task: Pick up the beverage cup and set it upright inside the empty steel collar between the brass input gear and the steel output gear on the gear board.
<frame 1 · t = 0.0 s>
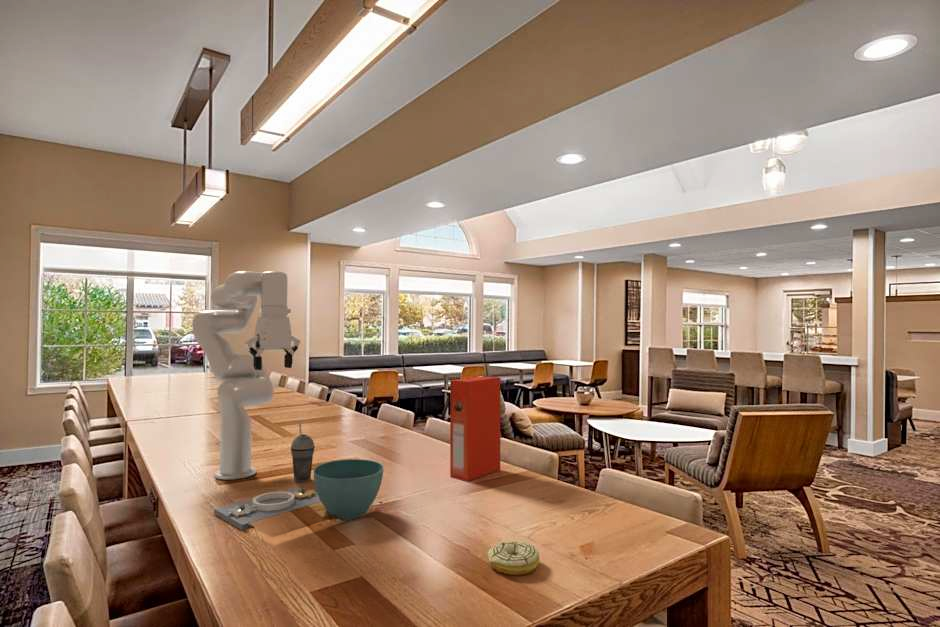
hand: (273, 368, 158), 37 cm above the table, tool pointing down, fingers open, 9 cm apart
beverage cup: (302, 485, 163), on the table
plant pot: (348, 514, 139), on the table
decorated donut: (513, 567, 111), on the table
file binder: (475, 474, 177), on the table
gear board: (273, 509, 142), on the table
input gear: (302, 495, 149), resting on gear board
output gear: (242, 512, 136), resting on gear board
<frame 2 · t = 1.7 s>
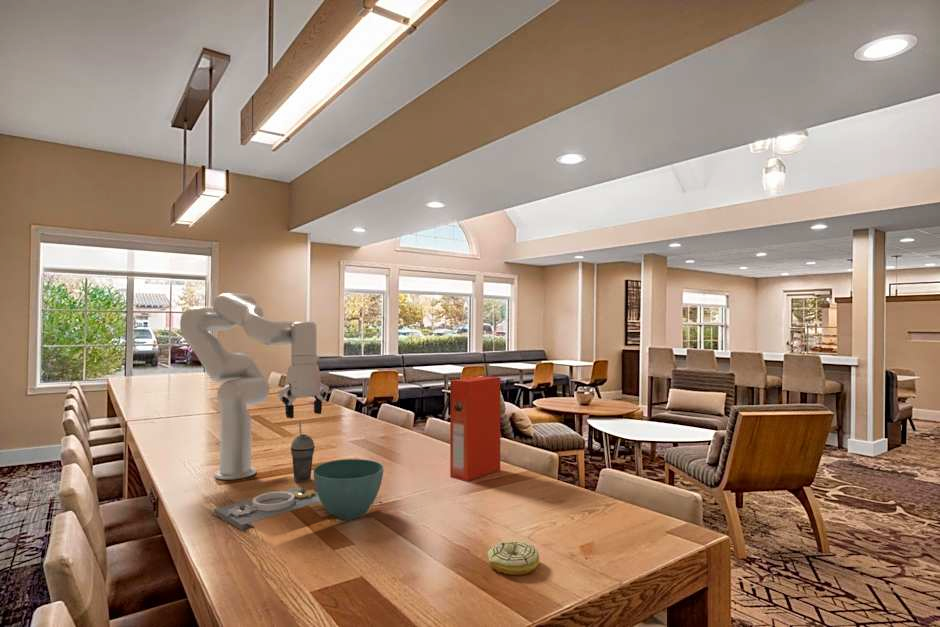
hand: (304, 415, 163), 22 cm above the table, tool pointing down, fingers open, 9 cm apart
nothing on the table moved.
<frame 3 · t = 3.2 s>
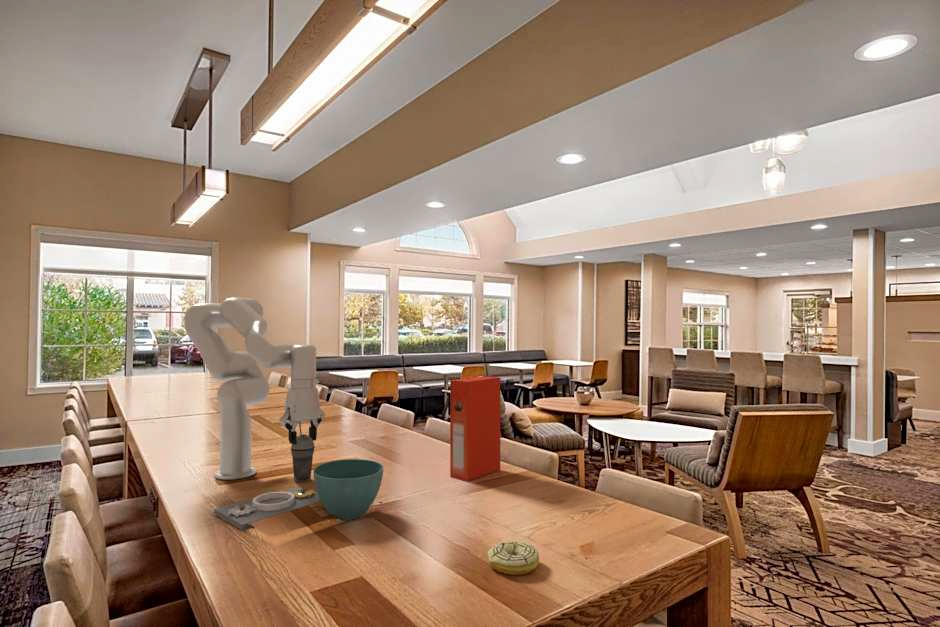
hand: (302, 441, 163), 14 cm above the table, tool pointing down, fingers closed on beverage cup, 6 cm apart
beverage cup: (302, 485, 163), on the table, touching gripper
everything else where it was.
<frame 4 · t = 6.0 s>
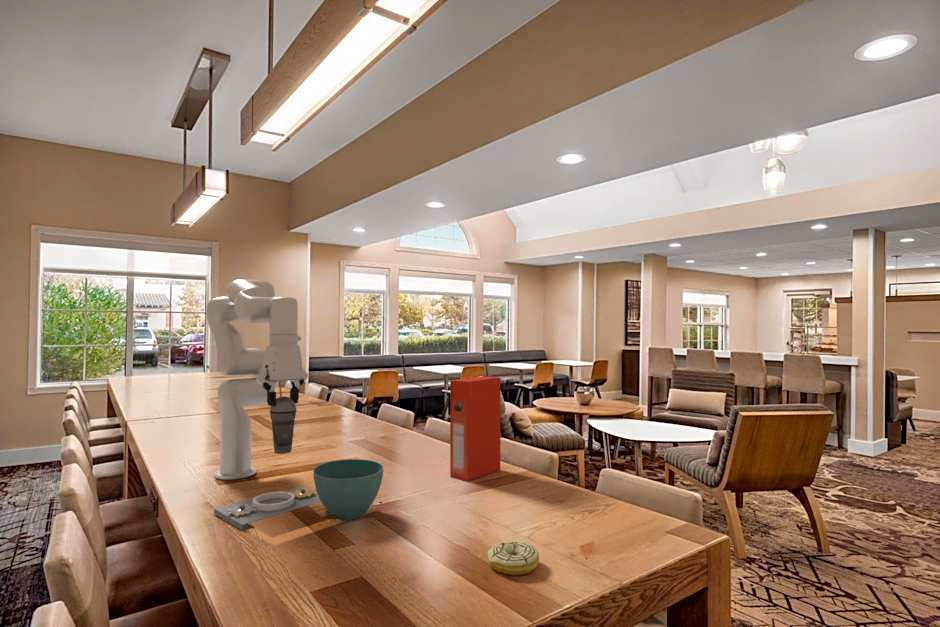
hand: (283, 403, 148), 28 cm above the table, tool pointing down, fingers closed on beverage cup, 6 cm apart
beverage cup: (282, 452, 147), point 14 cm above the table, touching gripper
everything else where it was.
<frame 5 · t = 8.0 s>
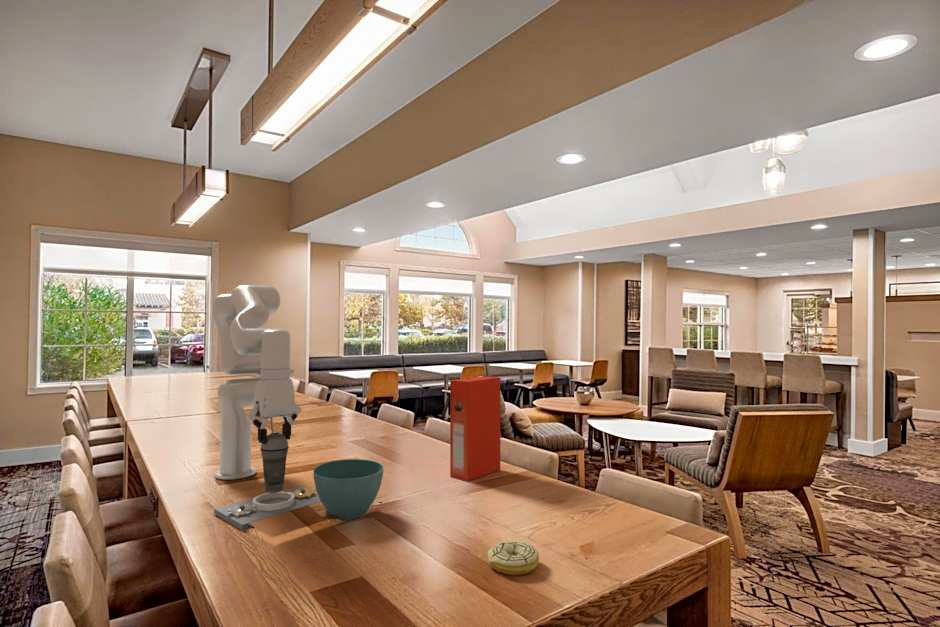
hand: (274, 440, 142), 19 cm above the table, tool pointing down, fingers closed on beverage cup, 6 cm apart
beverage cup: (274, 491, 142), point 5 cm above the table, touching gripper
everything else where it was.
when the fingers open (16 cm above the table, at t = 9.0 s): beverage cup drops 1 cm, resting on gear board.
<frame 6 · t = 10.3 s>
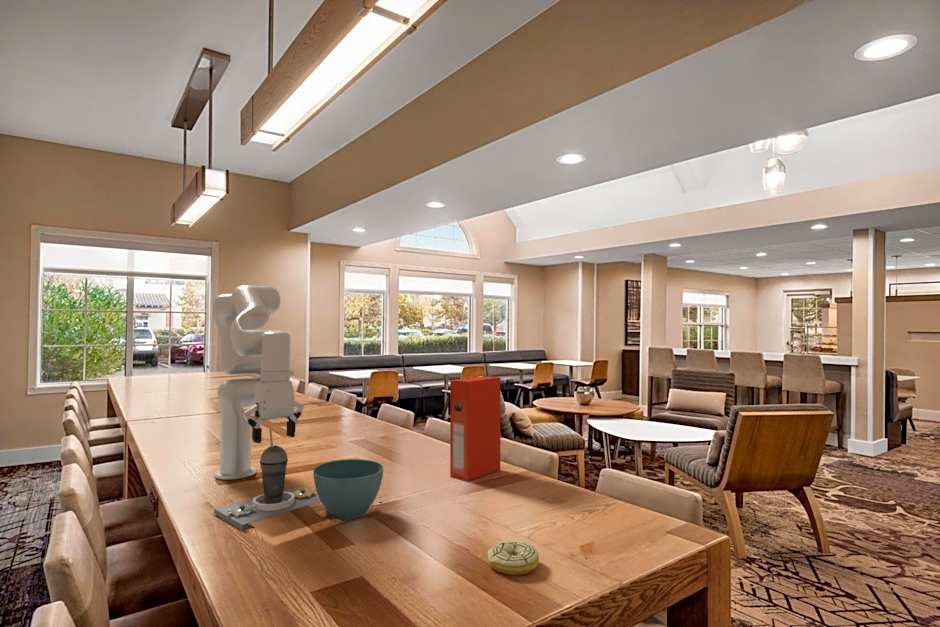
hand: (274, 439, 143), 19 cm above the table, tool pointing down, fingers open, 9 cm apart
beverage cup: (273, 504, 142), point 1 cm above the table, touching gear board
everything else where it was.
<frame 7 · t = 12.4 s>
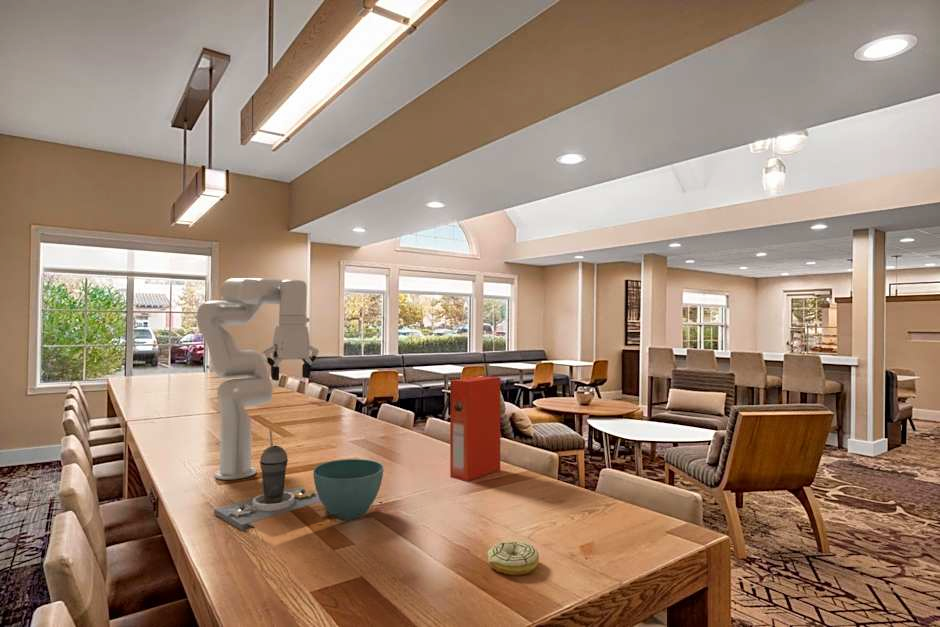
hand: (290, 378, 156), 34 cm above the table, tool pointing down, fingers open, 9 cm apart
nothing on the table moved.
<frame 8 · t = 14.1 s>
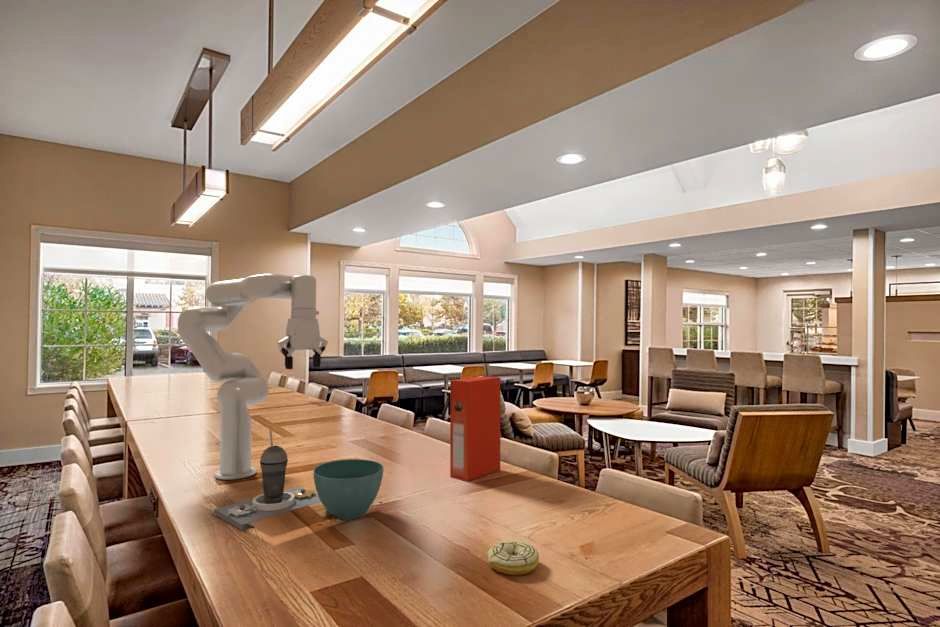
hand: (303, 368, 166), 36 cm above the table, tool pointing down, fingers open, 9 cm apart
nothing on the table moved.
at the end: beverage cup 0.2 cm off-centre on the gear board, point 1.3 cm above the gear board's base; beverage cup tilted 0°; the gripper is holding nothing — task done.
